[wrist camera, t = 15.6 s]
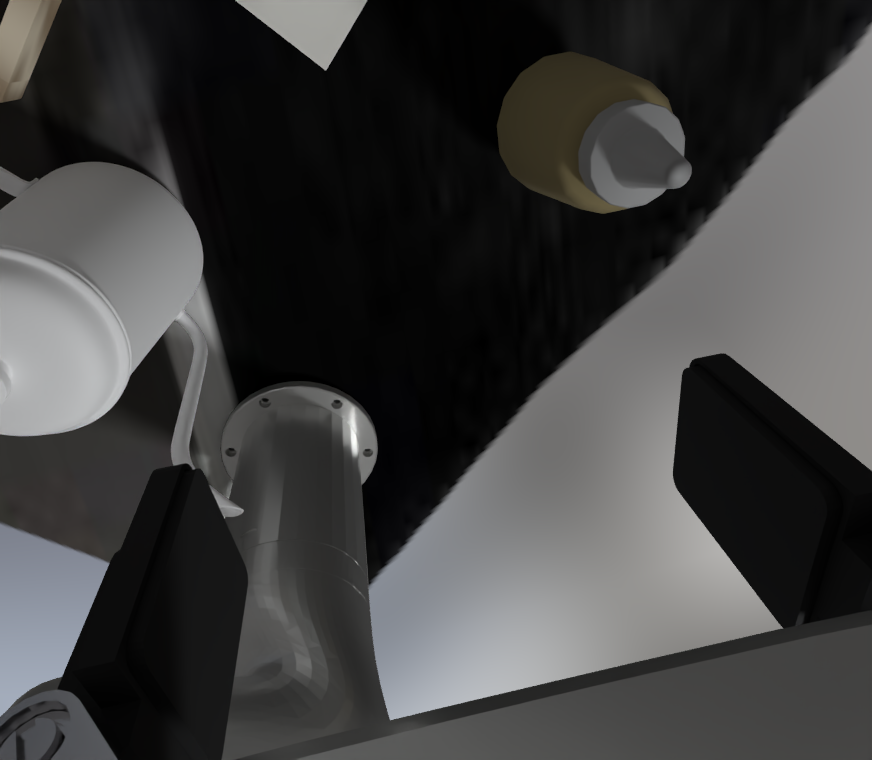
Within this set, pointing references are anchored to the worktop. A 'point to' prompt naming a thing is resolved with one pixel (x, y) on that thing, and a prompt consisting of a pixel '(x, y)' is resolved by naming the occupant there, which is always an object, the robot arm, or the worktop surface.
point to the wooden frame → (22, 43)
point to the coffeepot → (92, 297)
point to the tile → (309, 23)
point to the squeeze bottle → (591, 134)
